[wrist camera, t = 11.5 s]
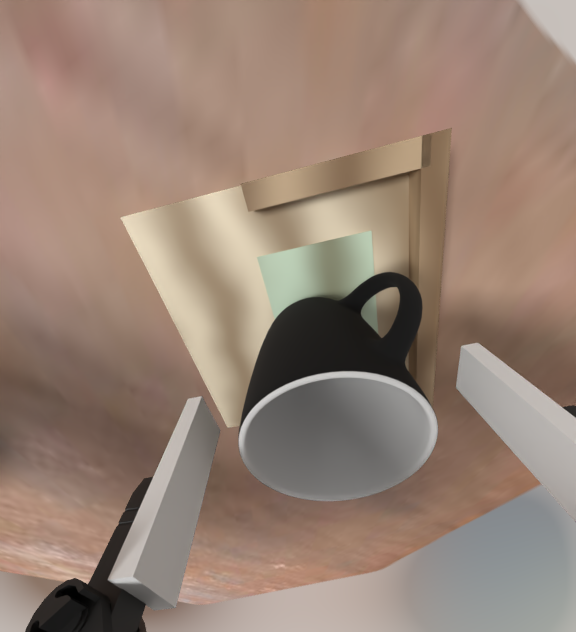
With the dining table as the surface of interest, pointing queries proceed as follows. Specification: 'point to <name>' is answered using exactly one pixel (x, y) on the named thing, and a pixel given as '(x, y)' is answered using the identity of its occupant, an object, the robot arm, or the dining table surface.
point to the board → (300, 255)
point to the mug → (337, 399)
